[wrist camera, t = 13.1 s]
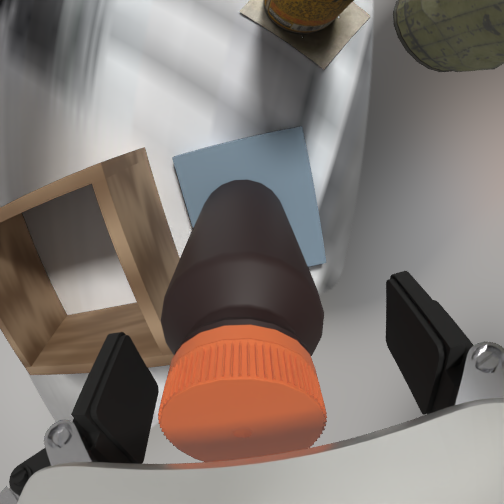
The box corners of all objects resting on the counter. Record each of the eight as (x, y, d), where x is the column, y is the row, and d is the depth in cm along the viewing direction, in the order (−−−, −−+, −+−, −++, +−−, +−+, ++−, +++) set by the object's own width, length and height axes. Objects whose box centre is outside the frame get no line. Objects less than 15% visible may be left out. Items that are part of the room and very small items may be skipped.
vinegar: (221, 164, 25) (157, 302, 6) (298, 199, 26) (405, 382, 8) (190, 238, 27) (112, 448, 9) (262, 267, 28) (287, 488, 10)
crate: (11, 202, 26) (-45, 233, 18) (144, 147, 25) (100, 162, 17) (64, 323, 32) (30, 374, 24) (194, 300, 31) (180, 363, 22)
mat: (174, 156, 25) (172, 157, 24) (299, 126, 25) (302, 126, 24) (212, 282, 30) (212, 287, 29) (323, 257, 29) (326, 262, 28)
